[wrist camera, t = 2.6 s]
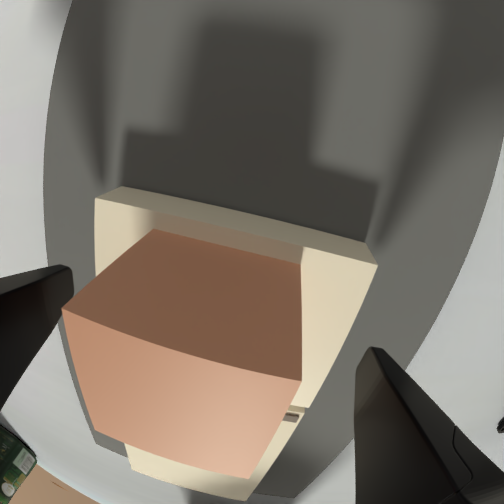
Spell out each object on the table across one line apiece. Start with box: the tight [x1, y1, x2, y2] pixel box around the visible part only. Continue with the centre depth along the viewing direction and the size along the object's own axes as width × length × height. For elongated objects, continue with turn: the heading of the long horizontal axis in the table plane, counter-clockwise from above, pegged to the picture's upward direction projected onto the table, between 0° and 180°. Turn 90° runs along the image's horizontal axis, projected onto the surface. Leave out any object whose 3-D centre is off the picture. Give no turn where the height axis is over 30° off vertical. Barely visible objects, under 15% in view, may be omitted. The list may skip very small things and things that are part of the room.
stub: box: [61, 186, 378, 479], centre depth 8 cm, size 8×6×6 cm
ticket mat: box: [43, 0, 504, 501], centre depth 11 cm, size 16×32×2 cm, turn 169°
